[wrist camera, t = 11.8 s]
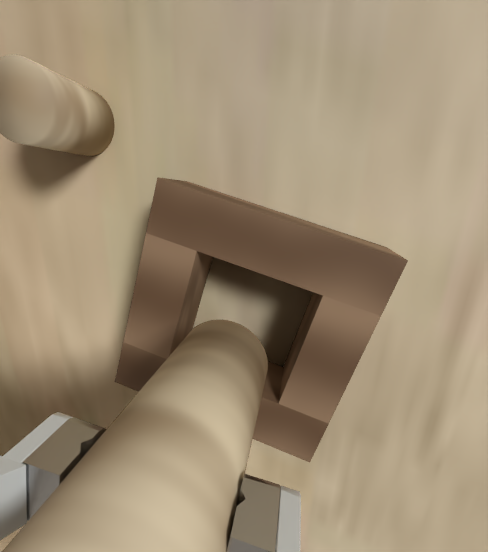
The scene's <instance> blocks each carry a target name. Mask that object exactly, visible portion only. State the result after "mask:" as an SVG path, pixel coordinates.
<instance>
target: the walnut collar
mask: <svg viewBox="0 0 488 552" xmlns="http://www.w3.org/2000/svg"><path fill="white" fill-rule="evenodd" d="M213 257H215V258H218V259H221V260H224V261H227V262H229V263H232V264H235V265H238V266H241V267H243V268H246V269H249V270H252V271H255V272H258V273H260V274H263V275H266V276H269V277H272V278H275V279H277V280H280V281H283V282H286V283H289V284H292V285H294V286H297V287H300V288H303V289H306V290H308V291H311V292H313V295H312V297H311V299H310V302H309V304H308V307H307V309H306V312H305V314H304V317H303V319H302V322H301V324H300V327H299V329H298V332H297V334H296V337H295V339H294V342H293V344H292V347H291V349H290V352H289V354H288V357H287V359H286V362H285V364H284V367H282V366H279V365H276V364H274V363H271V362H269V361H268V370H267V375H266V379H265V384H264V388H263V393H262V398H261V402H260V407H259V411H258V416H257V420H256V425H255V429H254V434H253V438H252V439H255V440H257V441H259V442H262V443H264V444H267V445H269V446H272V447H274V448H276V449H279V450H281V451H284V452H286V453H288V454H291V455H293V456H296V457H298V458H301V459H303V460H305V461H308V462H310V461H311V459H312V457H313V455H314V453H315V451H316V449H317V447H318V445H319V442H320V440H321V438H322V436H323V434H324V432H325V430H326V428H327V426H328V424H329V422H330V420H331V418H332V416H333V414H334V412H335V410H336V407H337V405H338V403H339V401H340V399H341V397H342V395H343V393H344V391H345V389H346V387H347V385H348V383H349V381H350V379H351V377H352V375H353V373H354V370H355V368H356V366H357V364H358V362H359V360H360V358H361V356H362V354H363V352H364V350H365V348H366V346H367V344H368V342H369V340H370V338H371V335H372V333H373V331H374V329H375V327H376V325H377V323H378V321H379V319H380V317H381V315H382V313H383V311H384V309H385V307H386V305H387V303H388V301H389V298H390V296H391V294H392V292H393V290H394V288H395V286H396V284H397V282H398V280H399V278H400V276H401V274H402V272H403V270H404V268H405V266H406V263H407V261H408V260H406V259H404V258H403V257H401V256H400V255H398V254H396V253H395V252H393V251H392V250H390V249H388V248H387V247H384V246H381V245H378V244H375V243H372V242H369V241H366V240H363V239H360V238H357V237H354V236H351V235H348V234H344V233H341V232H338V231H335V230H332V229H329V228H326V227H323V226H320V225H317V224H314V223H311V222H308V221H305V220H302V219H299V218H296V217H293V216H290V215H287V214H284V213H281V212H278V211H275V210H272V209H269V208H266V207H263V206H260V205H257V204H254V203H251V202H247V201H244V200H241V199H238V198H235V197H232V196H229V195H226V194H223V193H220V192H217V191H214V190H211V189H208V188H205V187H202V186H199V185H196V184H193V183H190V182H187V181H180V180H172V179H165V178H157V183H156V188H155V192H154V197H153V202H152V207H151V212H150V216H149V221H148V226H147V231H146V235H145V240H144V245H143V250H142V255H141V259H140V264H139V269H138V274H137V279H136V283H135V288H134V293H133V298H132V302H131V307H130V312H129V317H128V322H127V326H126V331H125V336H124V341H123V346H122V350H121V355H120V360H119V365H118V369H117V374H116V379H115V382H117V383H119V384H122V385H124V386H127V387H129V388H131V389H134V390H136V391H140V390H141V389H142V388H143V386H144V385H145V384H146V383H147V382H148V381H149V379H150V378H151V377H152V376H153V375H154V374H155V372H156V371H157V370H158V369H159V368H160V367H161V365H162V364H163V363H164V362H165V361H166V360H167V358H168V357H169V356H170V355H171V354H172V353H173V351H174V350H175V349H176V348H177V347H178V345H179V344H180V343H181V342H182V341H183V340H184V338H185V337H186V336H187V335H188V334H189V333H190V331H191V330H192V329H193V325H194V322H195V318H196V315H197V311H198V307H199V304H200V300H201V297H202V293H203V290H204V286H205V283H206V279H207V276H208V272H209V269H210V265H211V262H212V258H213Z"/></svg>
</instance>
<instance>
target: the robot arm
mask: <svg viewBox="0 0 488 552" xmlns="http://www.w3.org/2000/svg"><path fill="white" fill-rule="evenodd" d="M105 431H106V429H105V428H102V427H99V426H97V425H94V424H91V423H88V422H86V421H83V420H80V419H77V418H75V417H71V416H69V415H66V414H63V413H60V412H57V413H54V414H52V415H50V416H49V417H48V418H47V419H46V420H45V421H43V422H42V423H41V424H40V425H39V426H37V427H36V428H35V429H34V430H33V431H32V432H30V433H29V434H28V435H27V436H26V437H25V438H23V439H22V440H21V441H20V442H19V443H17V444H16V445H15V446H14V447H13V448H12V449H10V450H9V451H8V452H7V453H6V454H5V455H3V456H1V455H0V540H1V539H3V538H5V537H6V536H8V535H9V534H11V533H12V532H14V531H15V530H17V529H19V528H20V527H22V526H23V525H25V524H26V523H27V521H29V520H30V518H31V517H32V516H33V515H34V514H35V513H36V511H37V510H38V509H39V508H40V507H41V506H42V504H43V503H44V502H45V501H46V500H47V499H48V497H49V496H50V495H51V494H52V493H53V492H54V490H55V489H56V488H57V487H58V486H59V485H60V483H61V482H62V481H63V480H64V479H65V478H66V476H67V475H68V474H69V473H70V472H71V471H72V469H73V468H74V467H75V466H76V465H77V464H78V462H79V461H80V460H81V459H82V458H83V457H84V455H85V454H86V453H87V452H88V451H89V450H90V448H91V447H92V446H93V445H94V444H95V443H96V441H97V440H98V439H99V438H100V437H101V436H102V434H103V433H104V432H105ZM300 524H301V495H300V492H299V491H296V490H293V489H290V488H287V487H284V486H280V485H279V484H275V483H272V482H269V481H266V480H263V479H259V478H256V477H253V476H250V475H247V474H244V476H243V480H242V484H241V488H240V492H239V497H238V501H237V508H236V511H235V515H234V519H233V524H232V528H231V533H230V537H229V542H228V546H227V551H226V552H300Z"/></svg>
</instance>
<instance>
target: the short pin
mask: <svg viewBox="0 0 488 552" xmlns="http://www.w3.org/2000/svg"><path fill="white" fill-rule="evenodd" d="M0 133H1V134H2V135H3V136H4V137H6V138H7V139H9V140H10V141H13V142H15V143H19V144H24V145H29V146H35V147H40V148H46V149H51V150H56V151H62V152H67V153H73V154H78V155H84V156H95V155H98V154H100V153H102V152H103V151H104V150H105V149H106V148H107V147H108V146H109V144H110V143H111V141H112V138H113V134H114V118H113V114H112V111H111V109H110V106H109V105H108V103H107V102H106V100H105V99H104V98H103V97H102V96H101V95H99V94H98V93H96V92H95V91H93V90H91V89H89V88H87V87H84V86H82V85H80V84H78V83H76V82H74V81H72V80H70V79H68V78H66V77H64V76H62V75H60V74H58V73H56V72H54V71H52V70H50V69H48V68H46V67H44V66H42V65H40V64H38V63H36V62H34V61H32V60H30V59H28V58H26V57H23V56H21V55H14V54H11V55H6V56H3V57H1V58H0Z"/></svg>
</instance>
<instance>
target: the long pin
mask: <svg viewBox="0 0 488 552" xmlns="http://www.w3.org/2000/svg"><path fill="white" fill-rule="evenodd" d="M267 370H268V361H267V355H266V352H265V349H264V347H263V345H262V344H261V342H260V341H259V339H258V338H257V337H256V336H255V335H254V334H253V333H252V332H251V331H250V330H248V329H247V328H245V327H244V326H242V325H240V324H238V323H235V322H232V321H228V320H211V321H207V322H204V323H202V324H199V325H198V326H196V327H195V328H194V329H193V330H191V331H190V333H189V334H188V335H187V336H186V337H185V338H184V340H183V341H182V342H181V343H180V344H179V345H178V347H177V348H176V349H175V350H174V351H173V353H172V354H171V355H170V356H169V357H168V358H167V360H166V361H165V362H164V363H163V364H162V365H161V367H160V368H159V369H158V370H157V371H156V372H155V374H154V375H153V376H152V377H151V378H150V379H149V381H148V382H147V383H146V384H145V385H144V386H143V388H142V389H141V390H140V391H139V392H138V393H137V395H136V396H135V397H134V398H133V399H132V400H131V402H130V403H129V404H128V405H127V406H126V407H125V409H124V410H123V411H122V412H121V413H120V414H119V416H118V417H117V418H116V419H115V420H114V421H113V423H112V424H111V425H110V426H109V427H108V428H107V430H106V431H105V432H104V433H103V434H102V436H101V437H100V438H99V439H98V440H97V441H96V443H95V444H94V445H93V446H92V447H91V448H90V450H89V451H88V452H87V453H86V454H85V455H84V457H83V458H82V459H81V460H80V461H79V462H78V464H77V465H76V466H75V467H74V468H73V469H72V471H71V472H70V473H69V474H68V475H67V476H66V478H65V479H64V480H63V481H62V482H61V483H60V485H59V486H58V487H57V488H56V489H55V490H54V492H53V493H52V494H51V495H50V496H49V497H48V499H47V500H46V501H45V502H44V503H43V504H42V506H41V507H40V508H39V509H38V510H37V511H36V513H35V514H34V515H33V516H32V517H31V518H30V520H29V521H28V522H27V523H26V524H25V526H24V527H23V528H22V529H21V530H20V531H19V533H18V534H17V535H16V536H15V537H14V538H13V540H12V541H11V542H10V543H9V544H8V545H7V547H6V548H5V549H4V550H3V551H2V552H226V551H227V546H228V542H229V537H230V533H231V528H232V524H233V519H234V515H235V511H236V508H237V501H238V497H239V492H240V488H241V484H242V480H243V476H244V474H245V470H246V466H247V461H248V457H249V452H250V447H251V443H252V438H253V434H254V429H255V425H256V420H257V416H258V411H259V407H260V402H261V398H262V393H263V388H264V384H265V379H266V375H267Z"/></svg>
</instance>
